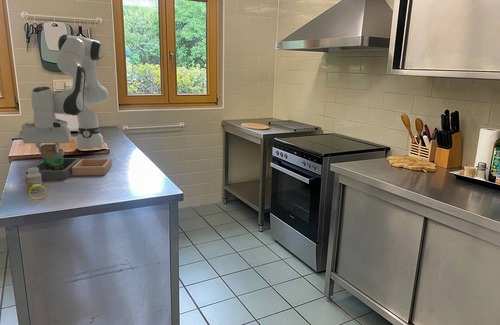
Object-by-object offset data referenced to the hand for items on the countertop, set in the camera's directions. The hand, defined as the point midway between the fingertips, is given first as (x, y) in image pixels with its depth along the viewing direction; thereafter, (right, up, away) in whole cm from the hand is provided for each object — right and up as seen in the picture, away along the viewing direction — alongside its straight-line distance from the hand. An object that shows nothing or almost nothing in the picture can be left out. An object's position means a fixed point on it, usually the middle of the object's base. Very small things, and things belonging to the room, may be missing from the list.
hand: (49, 152), depth 173 cm
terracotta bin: (+15, -9, +13) cm, 22 cm away
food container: (-2, -9, +12) cm, 15 cm away
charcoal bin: (-1, -10, +9) cm, 13 cm away
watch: (+10, -19, -26) cm, 34 cm away
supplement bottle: (+4, -17, -17) cm, 24 cm away
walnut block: (0, -2, 0) cm, 2 cm away
